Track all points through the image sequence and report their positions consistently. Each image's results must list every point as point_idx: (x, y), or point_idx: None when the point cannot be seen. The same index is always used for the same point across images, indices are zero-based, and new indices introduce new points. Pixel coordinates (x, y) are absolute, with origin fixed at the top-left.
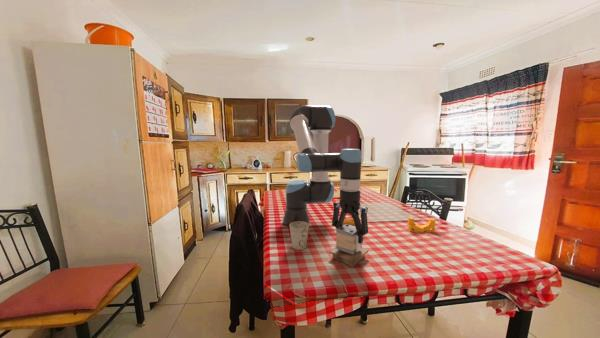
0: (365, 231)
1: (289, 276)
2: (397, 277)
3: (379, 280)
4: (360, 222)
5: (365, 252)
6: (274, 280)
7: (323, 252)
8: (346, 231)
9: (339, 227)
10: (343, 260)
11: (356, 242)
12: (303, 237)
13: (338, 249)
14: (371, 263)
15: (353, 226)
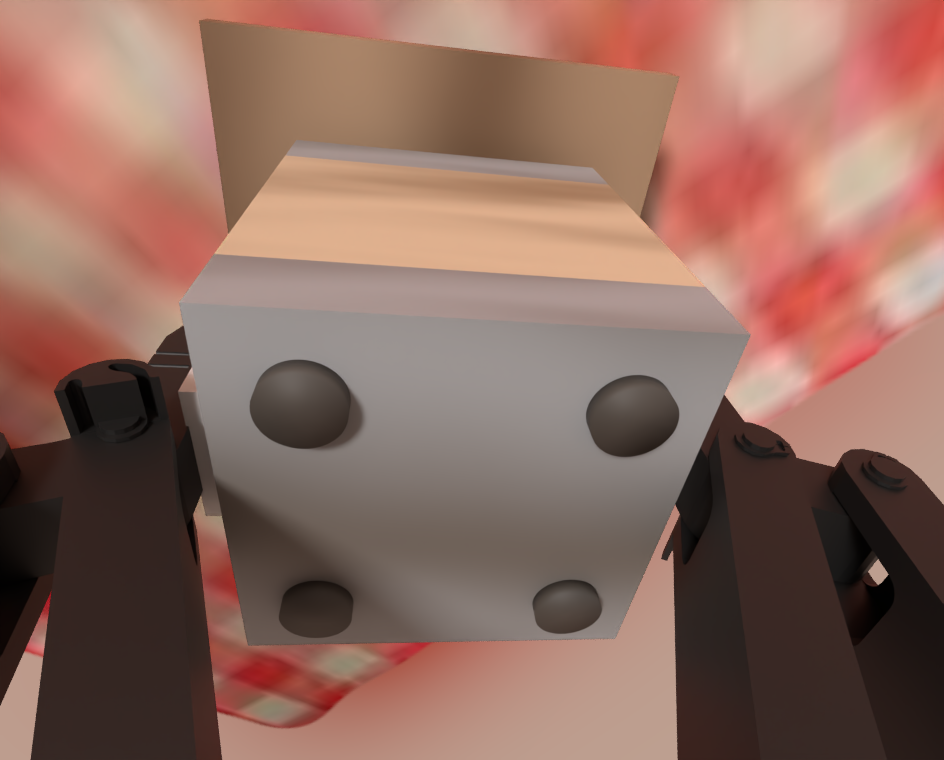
0: (877, 600)
1: (243, 648)
2: (930, 283)
3: (776, 399)
4: (849, 669)
5: (649, 179)
6: (216, 695)
7: (126, 297)
8: (477, 634)
9: (239, 580)
10: None
11: None
12: None
13: None
14: (696, 191)
15: (490, 352)
